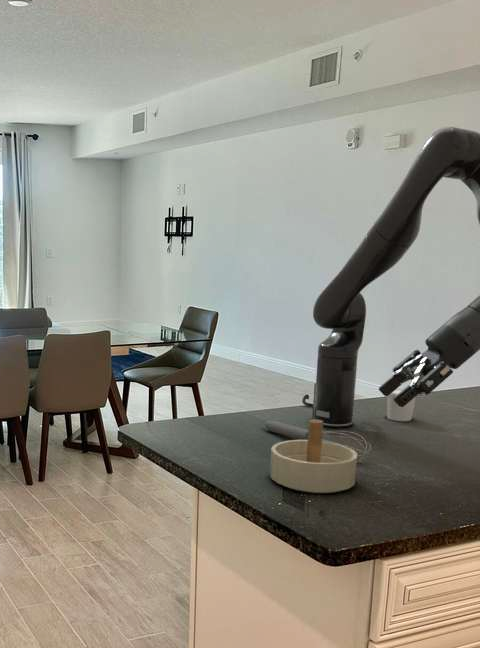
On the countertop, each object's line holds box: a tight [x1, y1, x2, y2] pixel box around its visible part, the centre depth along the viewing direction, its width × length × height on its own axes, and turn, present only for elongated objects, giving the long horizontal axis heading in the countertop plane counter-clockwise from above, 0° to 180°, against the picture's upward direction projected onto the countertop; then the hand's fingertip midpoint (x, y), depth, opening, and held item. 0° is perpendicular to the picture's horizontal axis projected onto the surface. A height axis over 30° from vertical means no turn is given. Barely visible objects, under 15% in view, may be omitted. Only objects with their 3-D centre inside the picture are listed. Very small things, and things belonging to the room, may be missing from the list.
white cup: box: [386, 388, 417, 422], centre depth 180 cm, size 7×7×7 cm
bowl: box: [269, 439, 359, 494], centre depth 135 cm, size 16×16×6 cm
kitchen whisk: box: [262, 419, 372, 463], centre depth 157 cm, size 6×34×6 cm, turn 22°
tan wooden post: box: [306, 418, 324, 463], centre depth 135 cm, size 4×4×11 cm
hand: (389, 398), depth 132 cm, fingers open, 8 cm apart
